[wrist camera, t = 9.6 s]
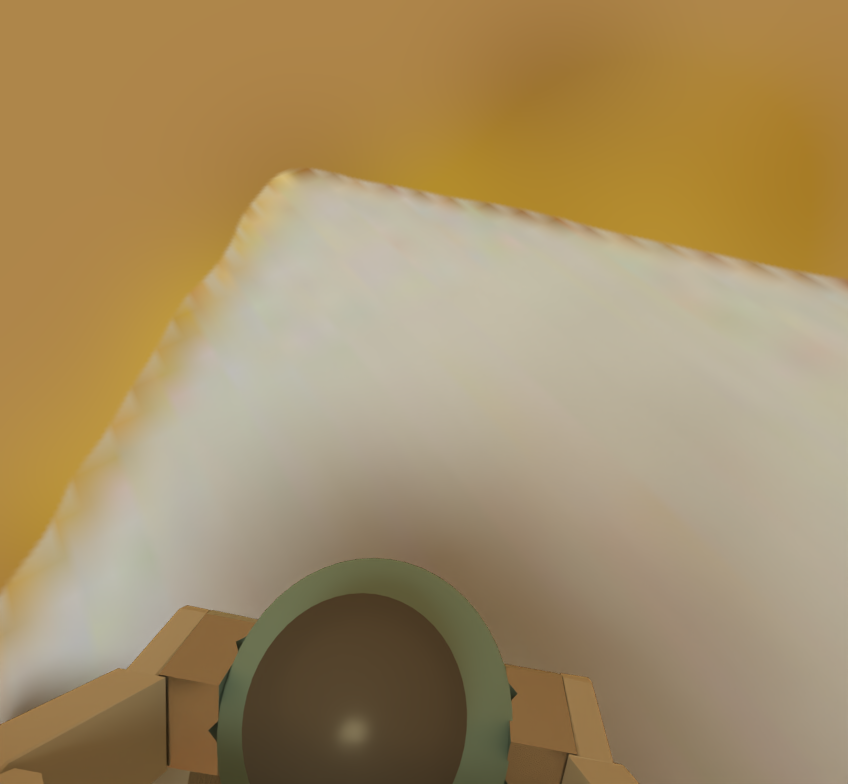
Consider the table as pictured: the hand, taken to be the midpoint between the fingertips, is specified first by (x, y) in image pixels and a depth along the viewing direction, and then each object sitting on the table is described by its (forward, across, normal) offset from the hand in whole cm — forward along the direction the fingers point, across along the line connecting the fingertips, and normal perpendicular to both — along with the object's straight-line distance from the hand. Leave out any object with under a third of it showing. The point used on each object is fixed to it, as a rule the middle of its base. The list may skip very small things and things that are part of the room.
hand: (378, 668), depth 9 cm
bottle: (+3, 0, +4) cm, 5 cm away
